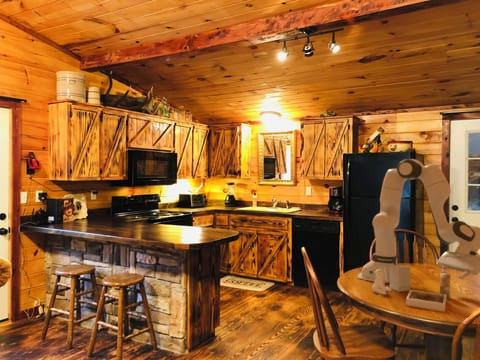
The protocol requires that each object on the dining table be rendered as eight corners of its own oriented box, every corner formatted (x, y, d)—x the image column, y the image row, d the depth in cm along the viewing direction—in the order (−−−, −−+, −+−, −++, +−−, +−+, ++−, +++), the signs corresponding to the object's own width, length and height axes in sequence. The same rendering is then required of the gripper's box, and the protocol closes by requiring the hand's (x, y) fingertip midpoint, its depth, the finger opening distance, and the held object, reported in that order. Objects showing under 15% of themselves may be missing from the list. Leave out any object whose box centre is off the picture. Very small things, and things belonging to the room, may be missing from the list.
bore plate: (409, 304, 178) (409, 299, 177) (412, 297, 189) (412, 292, 189) (441, 310, 171) (441, 304, 171) (442, 301, 182) (443, 296, 182)
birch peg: (439, 299, 188) (439, 274, 188) (440, 296, 192) (440, 272, 192) (449, 300, 186) (450, 276, 186) (450, 298, 190) (450, 274, 190)
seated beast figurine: (385, 296, 192) (385, 272, 192) (368, 293, 198) (368, 269, 197) (392, 292, 199) (392, 269, 199) (375, 288, 205) (375, 266, 204)
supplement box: (410, 292, 200) (410, 267, 199) (398, 293, 197) (398, 268, 197) (400, 287, 207) (401, 264, 206) (388, 289, 205) (389, 265, 204)
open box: (406, 306, 177) (406, 298, 177) (410, 297, 191) (410, 289, 190) (444, 313, 169) (444, 304, 169) (446, 303, 183) (446, 294, 183)
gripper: (442, 247, 203) (429, 267, 199) (481, 254, 185) (468, 277, 181) (448, 254, 205) (435, 275, 201) (487, 262, 187) (474, 285, 183)
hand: (451, 276), depth 191 cm, fingers open, 8 cm apart
